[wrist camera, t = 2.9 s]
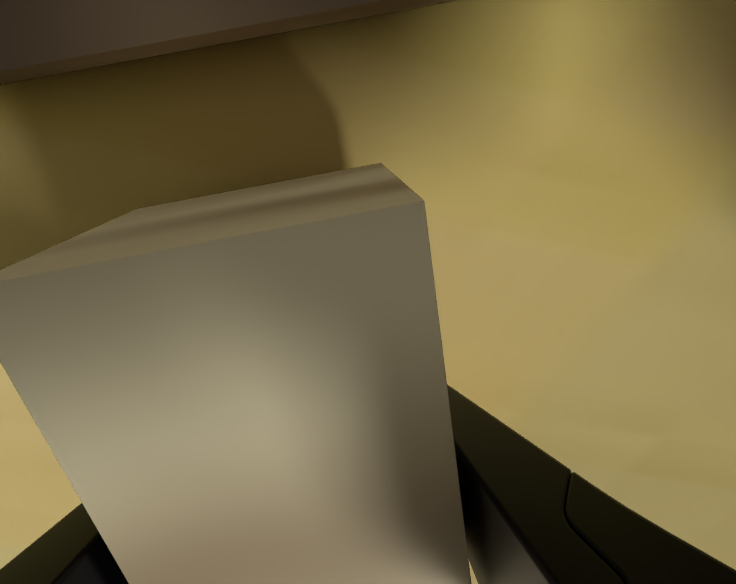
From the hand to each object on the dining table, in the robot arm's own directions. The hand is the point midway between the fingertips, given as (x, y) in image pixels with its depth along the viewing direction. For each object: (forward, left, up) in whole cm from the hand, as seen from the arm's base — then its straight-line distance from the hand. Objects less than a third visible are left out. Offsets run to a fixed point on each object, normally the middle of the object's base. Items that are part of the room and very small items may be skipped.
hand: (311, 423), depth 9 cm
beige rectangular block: (0, 0, -1) cm, 1 cm away
